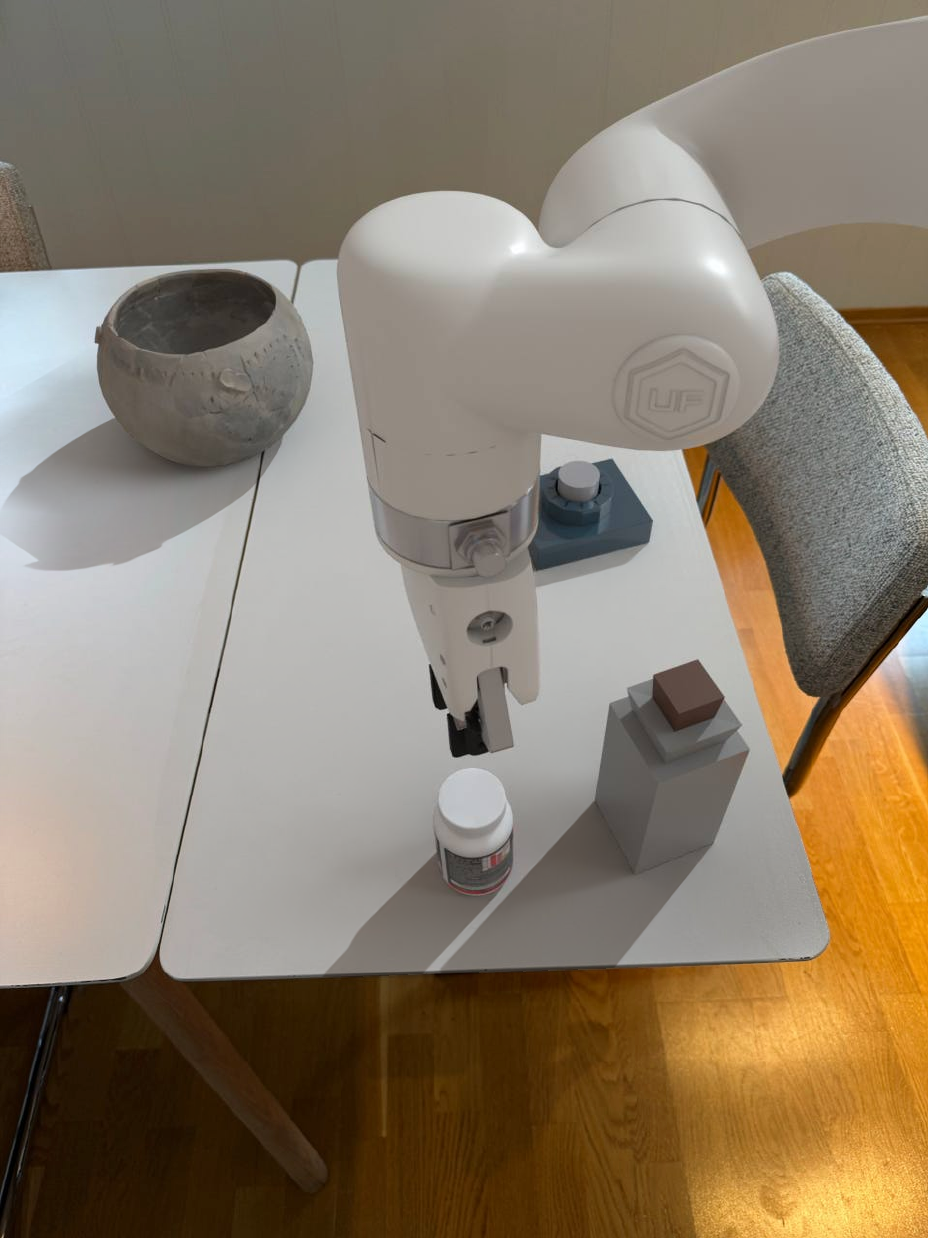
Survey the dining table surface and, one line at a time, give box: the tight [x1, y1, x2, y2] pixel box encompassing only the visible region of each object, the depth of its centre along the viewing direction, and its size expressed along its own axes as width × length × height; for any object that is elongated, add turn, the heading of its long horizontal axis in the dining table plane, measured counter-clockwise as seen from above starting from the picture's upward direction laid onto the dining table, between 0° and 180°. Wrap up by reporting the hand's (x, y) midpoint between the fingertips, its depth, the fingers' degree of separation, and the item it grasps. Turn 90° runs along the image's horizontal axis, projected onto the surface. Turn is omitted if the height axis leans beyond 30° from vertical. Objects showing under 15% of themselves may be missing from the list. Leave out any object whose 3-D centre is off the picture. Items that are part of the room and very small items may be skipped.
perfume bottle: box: [594, 659, 751, 875], centre depth 63 cm, size 7×7×18 cm
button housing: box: [528, 458, 654, 571], centre depth 90 cm, size 12×10×5 cm
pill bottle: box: [432, 767, 514, 897], centre depth 65 cm, size 6×6×10 cm
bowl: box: [94, 268, 314, 467], centre depth 99 cm, size 23×23×15 cm
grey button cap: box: [557, 460, 600, 503], centre depth 88 cm, size 4×4×2 cm
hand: (467, 722), depth 54 cm, fingers closed
